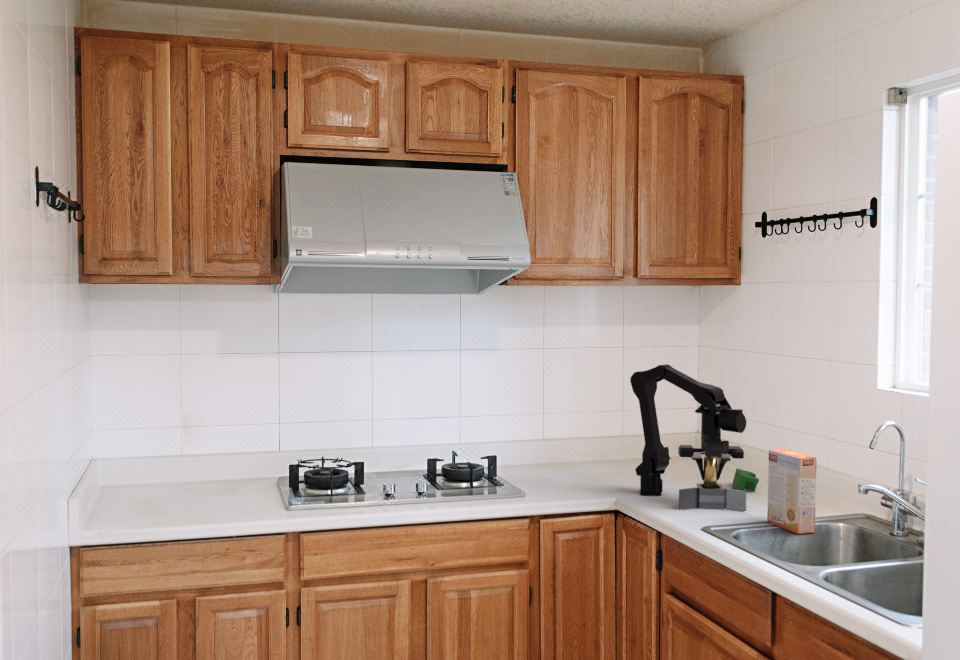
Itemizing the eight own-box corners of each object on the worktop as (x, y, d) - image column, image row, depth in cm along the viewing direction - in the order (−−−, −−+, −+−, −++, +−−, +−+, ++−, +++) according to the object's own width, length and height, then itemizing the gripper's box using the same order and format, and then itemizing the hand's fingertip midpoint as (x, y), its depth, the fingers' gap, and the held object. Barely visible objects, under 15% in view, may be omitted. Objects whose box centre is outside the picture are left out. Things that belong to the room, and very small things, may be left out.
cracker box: (816, 533, 242) (817, 456, 241) (797, 535, 241) (798, 457, 240) (784, 520, 256) (786, 447, 255) (766, 522, 254) (767, 448, 253)
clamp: (751, 505, 291) (760, 483, 287) (732, 500, 292) (741, 478, 287) (750, 484, 301) (758, 462, 297) (732, 479, 302) (740, 457, 298)
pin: (704, 487, 270) (704, 458, 270) (702, 484, 274) (703, 455, 274) (717, 488, 270) (718, 458, 269) (716, 485, 274) (716, 456, 273)
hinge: (679, 509, 268) (679, 489, 268) (676, 502, 277) (676, 482, 277) (746, 511, 265) (747, 491, 265) (741, 504, 275) (741, 484, 274)
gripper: (682, 432, 264) (681, 484, 265) (747, 433, 262) (746, 486, 263) (678, 426, 275) (677, 476, 276) (741, 427, 273) (740, 478, 274)
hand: (710, 479), depth 272 cm, fingers closed on pin, 4 cm apart
